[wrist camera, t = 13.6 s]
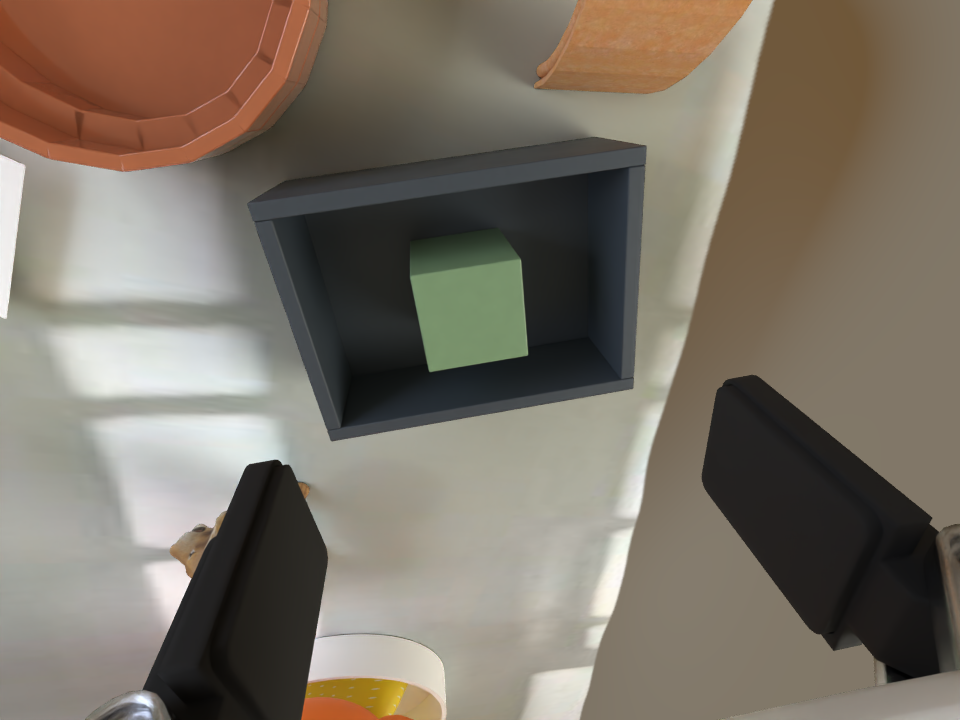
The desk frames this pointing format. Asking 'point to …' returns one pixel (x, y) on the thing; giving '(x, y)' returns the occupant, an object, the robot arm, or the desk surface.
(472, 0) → the desk surface
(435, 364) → the block
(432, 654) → the potted cactus
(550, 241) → the bin
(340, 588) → the desk surface
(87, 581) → the desk surface
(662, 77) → the arch
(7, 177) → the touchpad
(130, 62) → the bowl
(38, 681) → the desk surface
